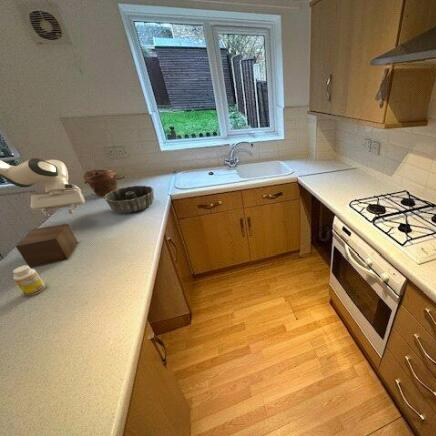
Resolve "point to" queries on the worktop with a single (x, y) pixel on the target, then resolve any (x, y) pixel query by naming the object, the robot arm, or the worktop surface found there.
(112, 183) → the terracotta flower pot
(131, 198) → the bundt pan
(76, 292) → the worktop surface
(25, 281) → the supplement bottle
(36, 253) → the brown box
